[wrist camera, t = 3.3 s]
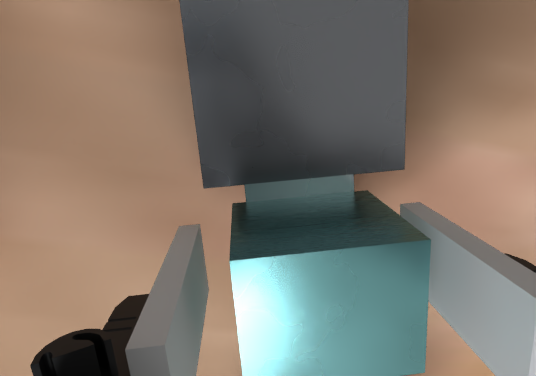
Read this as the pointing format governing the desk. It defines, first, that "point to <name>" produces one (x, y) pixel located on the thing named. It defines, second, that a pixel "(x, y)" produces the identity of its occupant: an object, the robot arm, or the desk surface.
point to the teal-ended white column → (327, 282)
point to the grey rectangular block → (296, 87)
